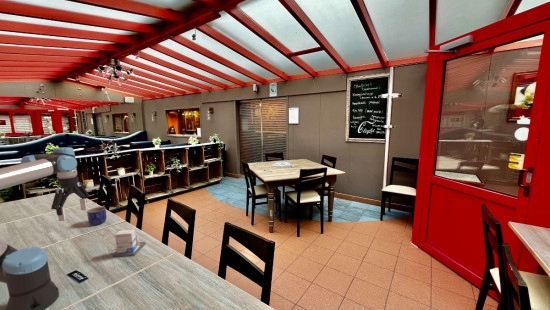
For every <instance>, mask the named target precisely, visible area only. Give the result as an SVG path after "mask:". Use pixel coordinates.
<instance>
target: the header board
mask: <svg viewBox="0 0 550 310" xmlns="http://www.w3.org/2000/svg"><path fill="white" fill-rule="evenodd" d="M135 236H136V244H137V248H136V249H135V250H134V251H133V252H123V253H118V251H117V250H115V252H113V253H112V257H114V258H117V257H135V256H136V255H137V254H139V252H140V251H141V250H142V249H143V248H144V247H145V245H146V244H147V243H146V241H139V235H138V234H137V235H136V234H135Z"/></svg>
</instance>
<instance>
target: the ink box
mask: <svg viewBox="0 0 550 310" xmlns="http://www.w3.org/2000/svg"><path fill="white" fill-rule="evenodd" d="M114 238H115V244H116V251H118V253H123V252H133V251H134V250H135V249H136V248H137V244H136V231H135V229H125V230H119V231H117V233H115V235H114Z"/></svg>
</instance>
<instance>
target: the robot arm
mask: <svg viewBox="0 0 550 310" xmlns="http://www.w3.org/2000/svg"><path fill="white" fill-rule="evenodd" d="M52 151H53V152H50V153H42V154H41V153H40V154H30V155H26V156H23V157H22V158H21V160H20V163H18V164H14V165H10V166H7V167H1V168H0V190H3V189H4V190H5V189H8V188H10V187H13V186H17V185H21V184H24V183H28V182H32V181H34V180H38V179H41V178H46V177H48V176H52V175H54V174H55V175H57V178H58V180H57V181H58V185H59V186H60V188H57V189H55V190H54V197H53V201H52V204H51V210H55V211H56V215H57V218H58V221H59V222H65V221H67V219H66V214H65V213H66V212H65V208H64V205H65V204H66V201H67V199H68V197H69V196H70V195H72V194H75V195H76V196H77V197H79V198H80V199H79V204H80V210H81V211H88V208H87V207H88V205H87V203H88V201H87V199H88V198H89V196H90V194H89V192H88V191H87V189H86V188H85V186H84V184H83V182H82V181H81V182H80V181H79V176H78V170H77V166H78V161H77V159H76V155H75V150H74V148H73V147H68V146H67V147H55V148H54V149H53V150H52ZM48 259H49V258H48V254H47V253H46V250H45V249H44V248H41V247H37V246H35V247H26V248H21V249H17V248H15V247H13V246H11V245H10V244H8V243H6V242H2V241H1V242H0V283H3V284H6V288H7V292H8V296H9V297H8V300H7V305H6V306H7V307H6V308H5V310H46V309H47V308H49V307H50V306H52V305H53V304H54V303H55V302H56V301H57V300H58V299H59V297H60V291H59V287H58V286H56V284H55V283H54V282H53V281H52V279H51V273H50V266H49V260H48Z"/></svg>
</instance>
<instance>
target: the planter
mask: <svg viewBox="0 0 550 310" xmlns="http://www.w3.org/2000/svg"><path fill="white" fill-rule="evenodd" d="M106 209H107V208H106V207H105V206H98V207H93V208H90V209H87V210H86V213H87V219H88V220H87V221H88V223H89V224H90V225H91V226H99V225H103V224H104V223H105V222H106V221H107V216H108V215H107V210H106Z"/></svg>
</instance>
